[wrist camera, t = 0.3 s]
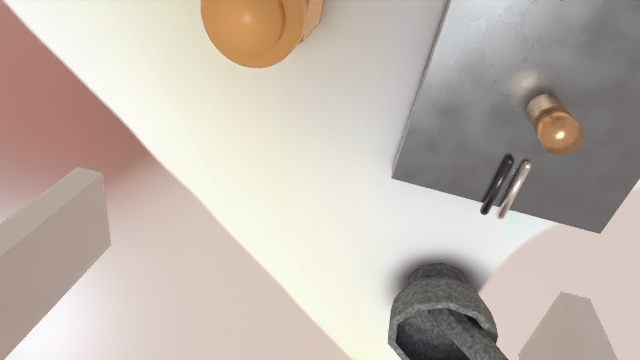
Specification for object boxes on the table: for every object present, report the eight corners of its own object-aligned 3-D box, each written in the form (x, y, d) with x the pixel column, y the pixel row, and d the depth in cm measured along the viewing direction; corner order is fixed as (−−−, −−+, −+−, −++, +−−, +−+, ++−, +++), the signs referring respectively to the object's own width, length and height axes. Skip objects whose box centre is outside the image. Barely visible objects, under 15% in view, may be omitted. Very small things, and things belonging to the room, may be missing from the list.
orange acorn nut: (248, -61, 32) (191, -52, 24) (332, -41, 31) (304, -25, 23) (240, 28, 35) (188, 61, 27) (316, 47, 35) (286, 86, 27)
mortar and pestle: (401, 320, 49) (397, 425, 39) (380, 257, 45) (370, 356, 35) (507, 312, 45) (533, 425, 35) (495, 243, 41) (521, 349, 31)
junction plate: (466, -56, 29) (479, -48, 23) (737, 7, 28) (821, 31, 22) (389, 174, 40) (385, 219, 34) (586, 227, 39) (617, 283, 33)
